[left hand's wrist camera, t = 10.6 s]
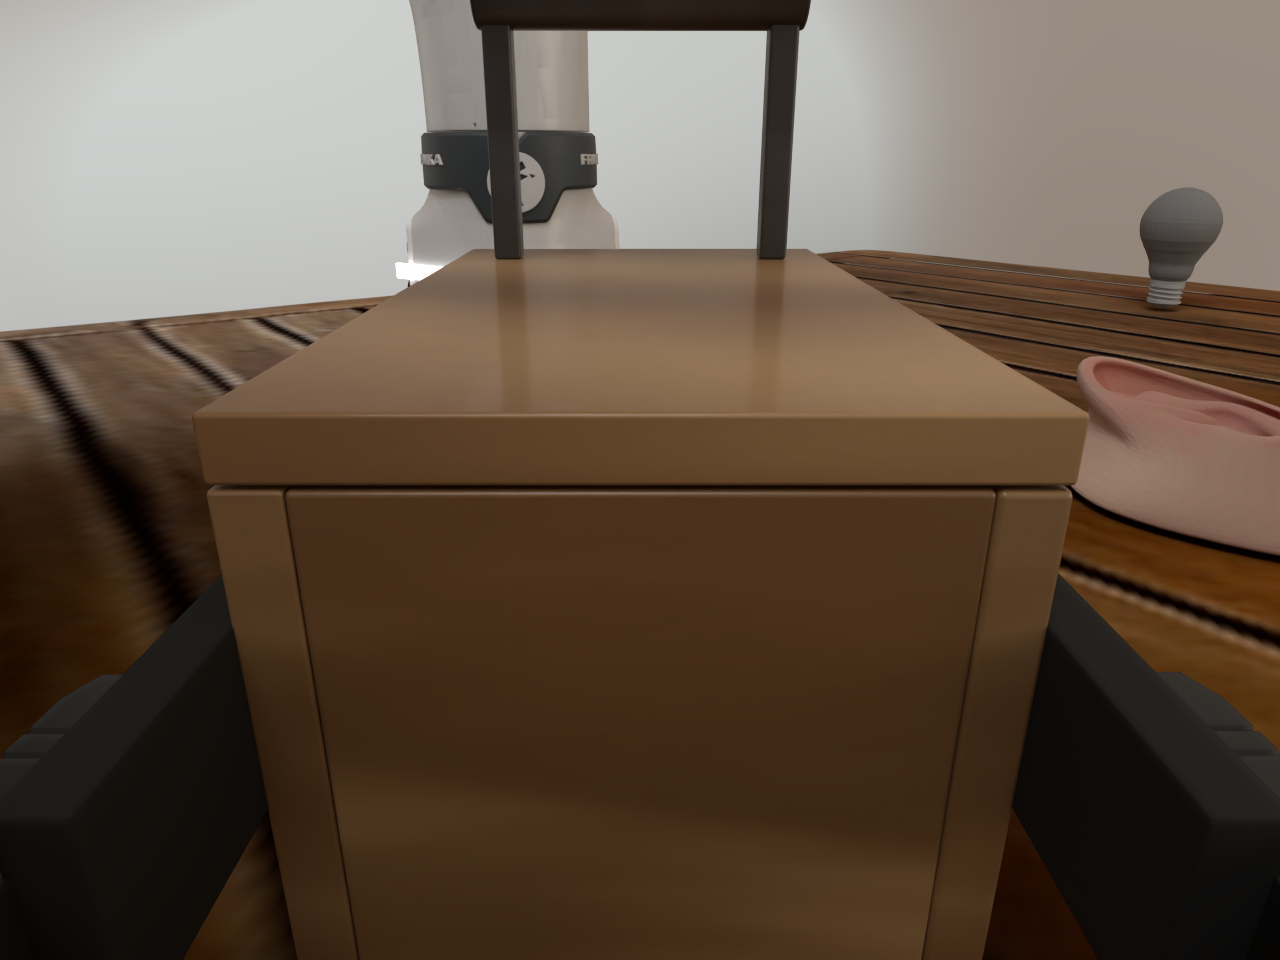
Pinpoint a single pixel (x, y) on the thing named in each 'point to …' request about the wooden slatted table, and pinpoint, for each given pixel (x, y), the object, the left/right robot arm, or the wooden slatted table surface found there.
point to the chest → (639, 713)
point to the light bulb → (1177, 240)
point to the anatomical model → (1181, 454)
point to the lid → (640, 346)
